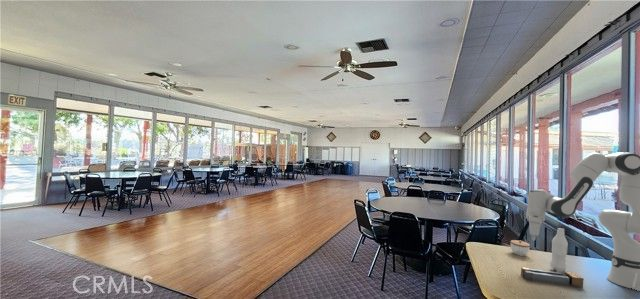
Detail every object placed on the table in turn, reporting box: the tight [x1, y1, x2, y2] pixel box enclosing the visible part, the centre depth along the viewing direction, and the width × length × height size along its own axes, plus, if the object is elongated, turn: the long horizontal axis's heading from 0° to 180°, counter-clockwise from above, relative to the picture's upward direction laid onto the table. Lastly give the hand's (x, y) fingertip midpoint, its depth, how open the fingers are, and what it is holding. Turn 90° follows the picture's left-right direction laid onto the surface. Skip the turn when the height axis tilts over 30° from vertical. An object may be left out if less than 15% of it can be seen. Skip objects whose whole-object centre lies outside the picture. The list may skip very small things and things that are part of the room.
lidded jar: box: [510, 239, 531, 257], centre depth 192 cm, size 11×11×9 cm
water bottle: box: [550, 227, 569, 273], centre depth 168 cm, size 7×7×25 cm
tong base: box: [523, 270, 585, 289], centre depth 154 cm, size 26×7×5 cm, turn 78°
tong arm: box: [520, 266, 567, 278], centre depth 157 cm, size 21×3×4 cm, turn 77°
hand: (533, 239), depth 168 cm, fingers closed
